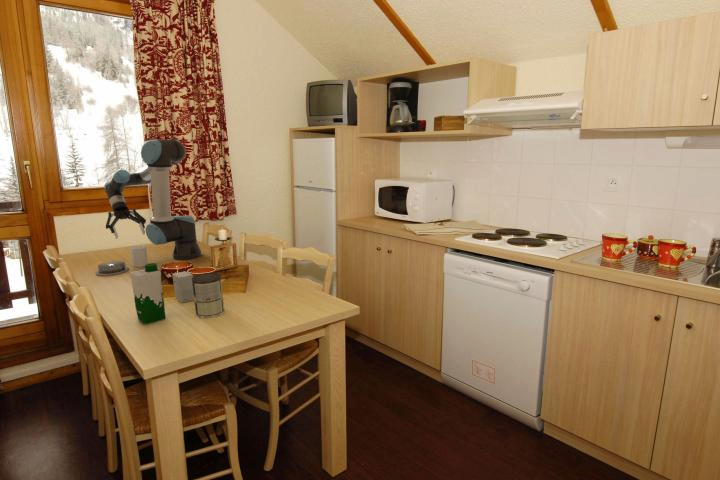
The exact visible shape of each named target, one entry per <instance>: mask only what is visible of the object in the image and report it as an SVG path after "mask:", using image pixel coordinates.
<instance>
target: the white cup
mask: <svg viewBox="0 0 720 480" xmlns="http://www.w3.org/2000/svg"><path fill="white" fill-rule="evenodd" d="M147 248H148V247H147V245H144V244H142V245H135V246H130V248H129V251H130V256H131V259H132V260H131V261H132V266H133V267H135V268H141V267H142V268H143V267H145V265H146V264H149V263H148V249H147Z"/></svg>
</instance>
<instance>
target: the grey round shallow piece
mask: <svg viewBox="0 0 720 480" xmlns="http://www.w3.org/2000/svg"><path fill="white" fill-rule="evenodd" d="M97 268H98V270H97V271H95V276H99V277H108V276H117V275H121V274H124V273H127V272H128V270H130V267H128V266H126V262H125V260H124V261H123V260H113V261H107V262H102V263H100V264H98V265H97Z"/></svg>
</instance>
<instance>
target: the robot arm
mask: <svg viewBox="0 0 720 480" xmlns="http://www.w3.org/2000/svg"><path fill="white" fill-rule="evenodd" d="M186 149H187V148H186V147H185V145H184V144H183V143H182V142H181V141H179V140H177V139H150V140H149V139H148V140H146V141H145V142H144V143H143V144H142V146H141V148H140V157H141V159H142V161H143V162H144V163H145V164H146V165H145V166H144V167H142V168H141V169H139V170H138V171H134V172H133V171H132V172H131V171H130V172H129V171H128V170H126V169H123V168H121V169H120V168H119V169H117V170H115V172H114V174H113V176H112V178H111V180H110V181H109V180H108V181H106V183H105V184H104V185H103V187H104V191H105V193H106V196H107V198H108V201H109V204H110V206H111V209H112V212H111V211H108V214H107V220H106V223H105V229H109V230H110V233H111V234H113V235H114V237H115V240H117V239H118V237H119V235H118V231H117V230H116V226H115V225H116V224H117V223H118V221H120V220H131V221H133V222H135V223H137V224H138V226H139V228H140V231H141V233H142V235H144V236H145V234H146V237H147V238H148V240H149V242H151V244H154V245H156V246H157V245H165V244H169V243H172V242H174V247H173V251H172V259H174V260H191V259H196V258H199V257H201V256H202V250H201V247H200V246H199V244H198V240H197V232H196V223H195V222H196V221H195V219H194V217H193V216H190V215H173V216H172V214H171V212H172V211H171V210H172V209H171V190H170V189H171V187H170V186H171V185H170V172H169V171H170V170H171V169H172V166H173V165H174V166H176V165H178V164H179V163H181V162H182V161H184V159H185V157H186V156H187V150H186ZM149 184H151V200H152V202H151V203H152V204H151V205H152V217H150V218H149V221H150V223H148V224H147V225H146V223H147V222H146V221H147V219H145V217H144V216H142V215H141V214H140V213H139V212H137V210H136V209H135V208H134V209H132V210H130V209H129V207H128V204H127V202H126V199H125V197H124V194H123V192H124V190H125V188H126V187H133V186H143V185H144V186H147V185H149ZM113 217H115V218H114V219H112V218H113ZM111 220H112V222H111Z"/></svg>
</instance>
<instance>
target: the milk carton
mask: <svg viewBox="0 0 720 480" xmlns="http://www.w3.org/2000/svg"><path fill="white" fill-rule="evenodd" d="M130 279H131V285H132V286H131V287H132V292H133V298H134V306H135V311H136V314H137V319H138V321H140V322H141V323H143V324H144V325H149V324H152V323H153V324H154V323H156V322H159V321H163V320H166V309H165V308H166V307H165V299H164V294H163V293H164V292H163V286H162V272H161V270H159V269H158V263H154V262H153V263H152V262H151V263H148V264H146V265H145V266H144V269H138V270H136V271H131V272H130Z"/></svg>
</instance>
